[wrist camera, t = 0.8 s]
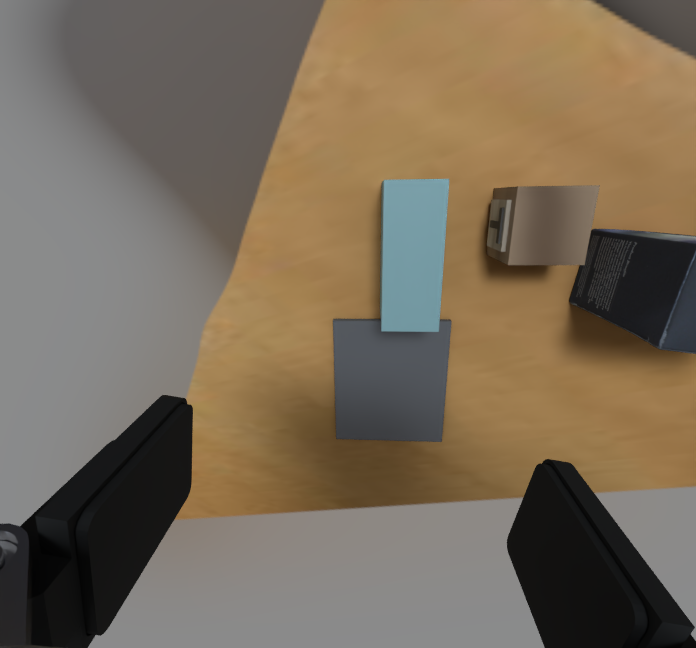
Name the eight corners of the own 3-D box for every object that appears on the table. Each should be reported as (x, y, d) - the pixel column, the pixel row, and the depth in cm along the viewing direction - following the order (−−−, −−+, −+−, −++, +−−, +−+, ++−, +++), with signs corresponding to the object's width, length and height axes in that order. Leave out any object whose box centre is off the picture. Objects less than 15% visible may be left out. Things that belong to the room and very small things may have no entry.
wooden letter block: (561, 187, 28) (599, 185, 23) (550, 254, 30) (584, 265, 25) (487, 188, 28) (510, 186, 24) (480, 254, 30) (501, 265, 25)
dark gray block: (450, 319, 32) (451, 321, 31) (440, 438, 36) (441, 441, 35) (333, 318, 32) (333, 320, 32) (336, 435, 36) (336, 438, 36)
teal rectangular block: (434, 182, 29) (449, 178, 23) (426, 307, 32) (438, 331, 26) (381, 183, 29) (383, 180, 23) (379, 307, 32) (381, 331, 26)
